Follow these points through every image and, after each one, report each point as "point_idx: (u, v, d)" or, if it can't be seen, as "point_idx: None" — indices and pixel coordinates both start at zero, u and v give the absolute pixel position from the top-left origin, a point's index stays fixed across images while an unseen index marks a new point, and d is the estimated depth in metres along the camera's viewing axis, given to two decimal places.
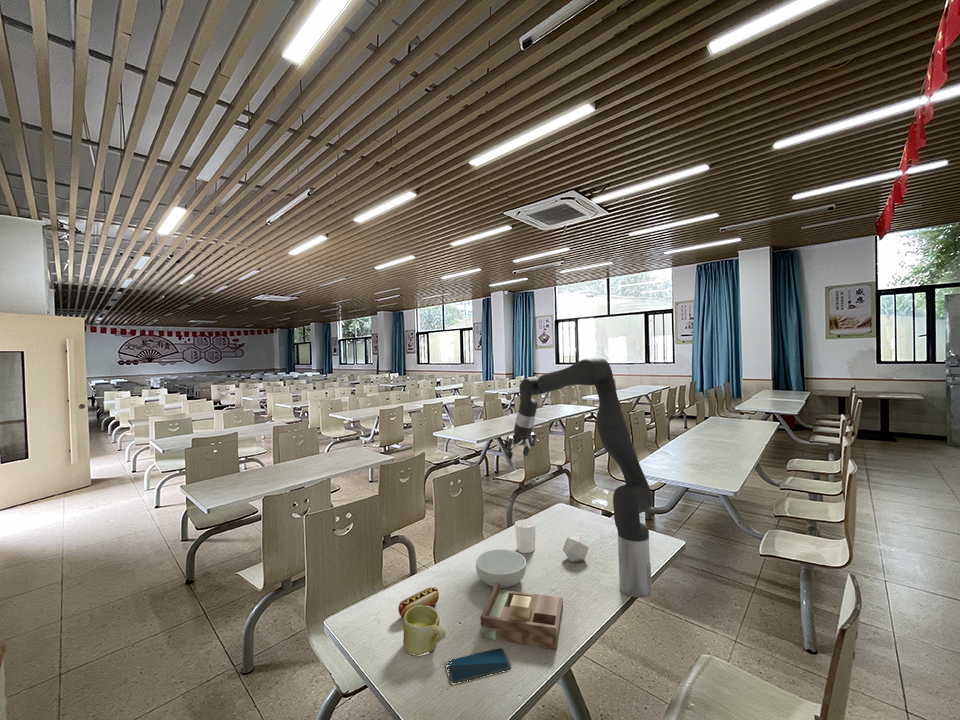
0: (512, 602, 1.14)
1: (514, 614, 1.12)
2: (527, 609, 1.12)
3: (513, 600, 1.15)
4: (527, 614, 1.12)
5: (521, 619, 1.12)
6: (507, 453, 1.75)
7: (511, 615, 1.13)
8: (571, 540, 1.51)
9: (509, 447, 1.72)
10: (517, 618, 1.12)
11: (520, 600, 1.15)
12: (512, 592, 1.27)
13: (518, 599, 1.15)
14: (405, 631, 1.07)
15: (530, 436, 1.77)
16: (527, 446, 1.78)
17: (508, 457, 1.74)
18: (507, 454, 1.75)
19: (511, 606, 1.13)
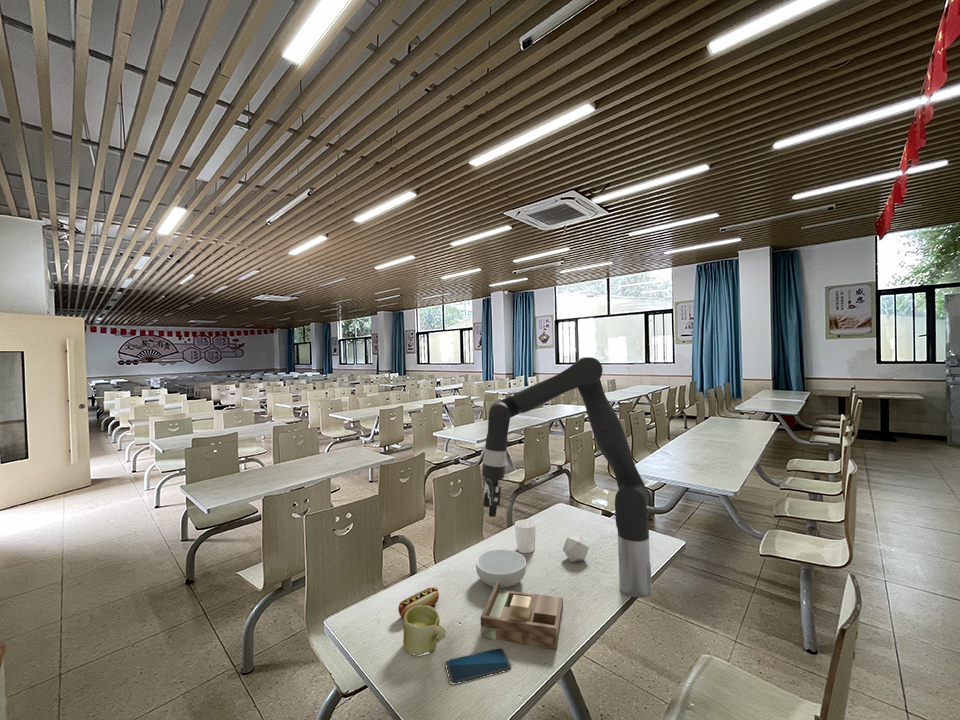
0: (512, 602, 1.14)
1: (514, 614, 1.12)
2: (527, 609, 1.12)
3: (513, 600, 1.15)
4: (527, 614, 1.12)
5: (521, 619, 1.12)
6: (491, 510, 1.33)
7: (511, 615, 1.13)
8: (571, 540, 1.51)
9: None
10: (517, 618, 1.12)
11: (520, 600, 1.15)
12: (512, 592, 1.27)
13: (518, 599, 1.15)
14: (405, 631, 1.07)
15: None
16: None
17: (494, 514, 1.33)
18: (492, 511, 1.33)
19: (511, 606, 1.13)
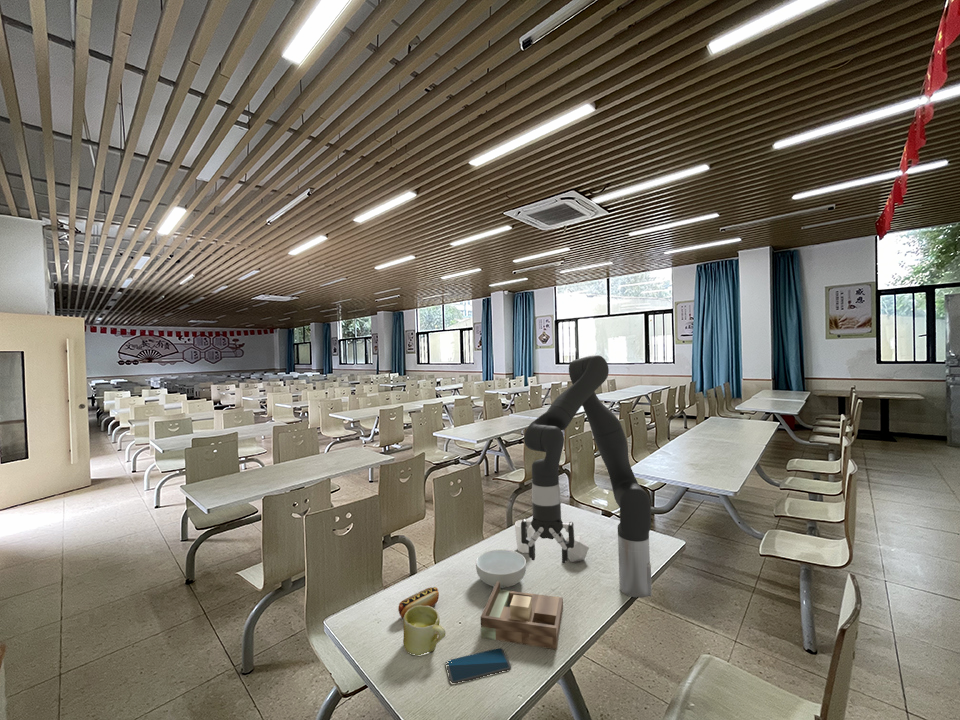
0: (512, 602, 1.14)
1: (514, 614, 1.12)
2: (527, 609, 1.12)
3: (513, 600, 1.15)
4: (527, 614, 1.12)
5: (521, 619, 1.12)
6: (567, 554, 1.10)
7: (511, 615, 1.13)
8: None
9: None
10: (517, 618, 1.12)
11: (520, 600, 1.15)
12: (512, 592, 1.27)
13: (518, 599, 1.15)
14: (405, 631, 1.07)
15: None
16: None
17: None
18: (567, 556, 1.10)
19: (511, 606, 1.13)
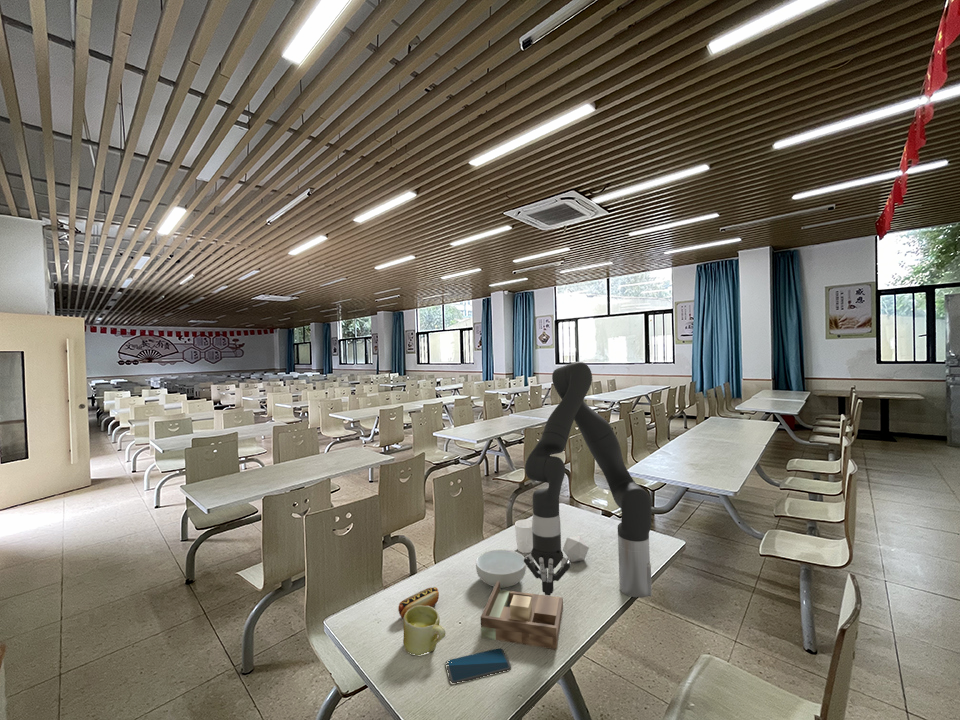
0: (512, 602, 1.14)
1: (514, 614, 1.12)
2: (527, 609, 1.12)
3: (513, 600, 1.15)
4: (527, 614, 1.12)
5: (521, 619, 1.12)
6: (552, 587, 1.12)
7: (511, 615, 1.13)
8: (571, 540, 1.51)
9: None
10: (517, 618, 1.12)
11: (520, 600, 1.15)
12: (512, 592, 1.27)
13: (518, 599, 1.15)
14: (405, 631, 1.07)
15: None
16: (546, 571, 1.14)
17: None
18: (553, 588, 1.12)
19: (511, 606, 1.13)
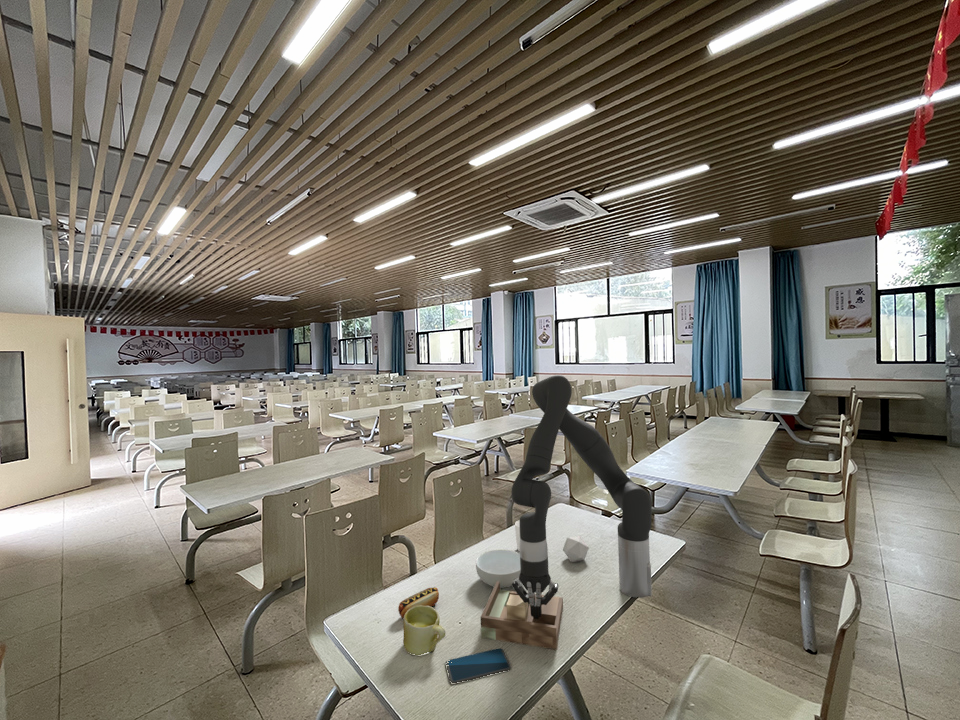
0: (508, 602, 1.14)
1: (511, 613, 1.13)
2: (523, 609, 1.12)
3: (509, 600, 1.15)
4: (523, 614, 1.12)
5: (517, 619, 1.12)
6: (541, 611, 1.12)
7: (507, 615, 1.13)
8: (571, 540, 1.51)
9: None
10: (513, 618, 1.13)
11: (516, 600, 1.15)
12: (512, 592, 1.27)
13: (515, 599, 1.15)
14: (405, 631, 1.07)
15: None
16: (534, 595, 1.14)
17: (541, 613, 1.13)
18: (541, 612, 1.12)
19: (507, 606, 1.13)
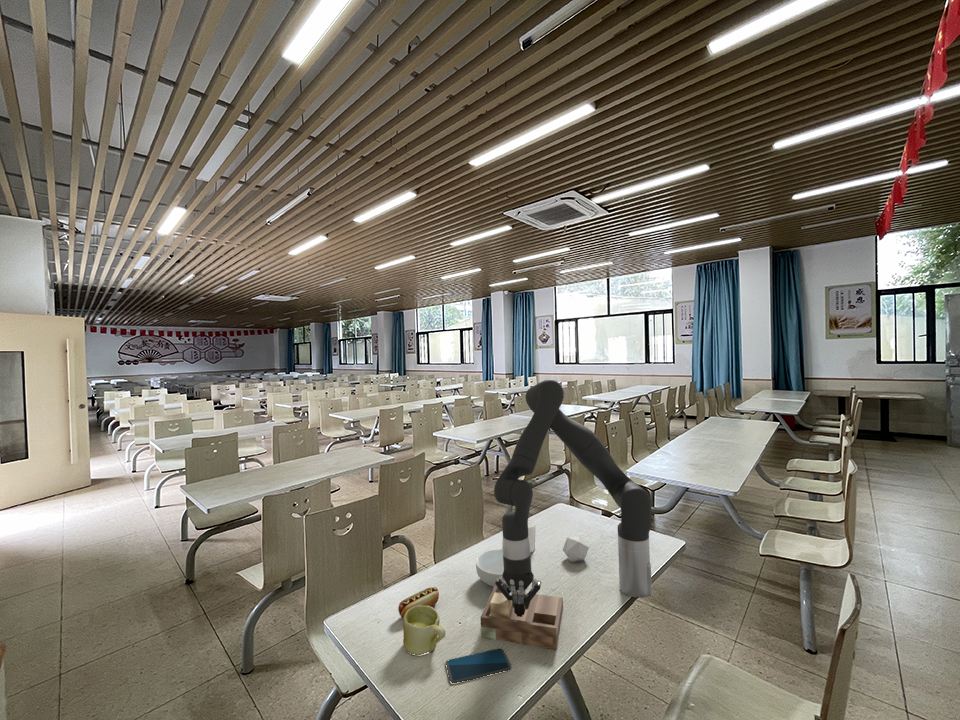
0: (493, 600, 1.15)
1: (495, 611, 1.14)
2: (507, 606, 1.13)
3: (494, 598, 1.16)
4: (507, 611, 1.13)
5: (501, 616, 1.13)
6: (524, 608, 1.13)
7: (491, 612, 1.14)
8: (571, 540, 1.51)
9: None
10: (497, 615, 1.14)
11: (501, 598, 1.16)
12: None
13: (499, 597, 1.17)
14: (405, 631, 1.07)
15: None
16: (518, 592, 1.15)
17: None
18: (524, 609, 1.14)
19: (491, 604, 1.14)
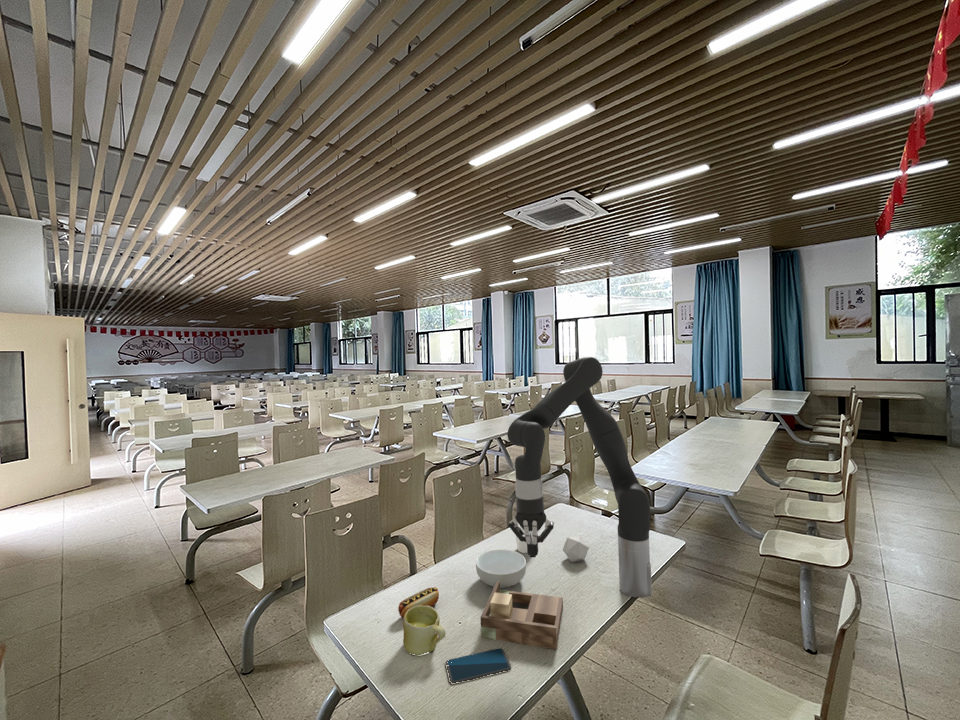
0: (493, 600, 1.15)
1: (495, 611, 1.14)
2: (507, 606, 1.13)
3: (494, 598, 1.16)
4: (507, 611, 1.13)
5: (501, 616, 1.13)
6: (537, 549, 1.15)
7: (491, 612, 1.14)
8: (571, 540, 1.51)
9: None
10: (497, 615, 1.14)
11: (501, 598, 1.16)
12: (512, 592, 1.27)
13: (499, 597, 1.17)
14: (405, 631, 1.07)
15: None
16: None
17: None
18: (537, 550, 1.15)
19: (491, 604, 1.14)
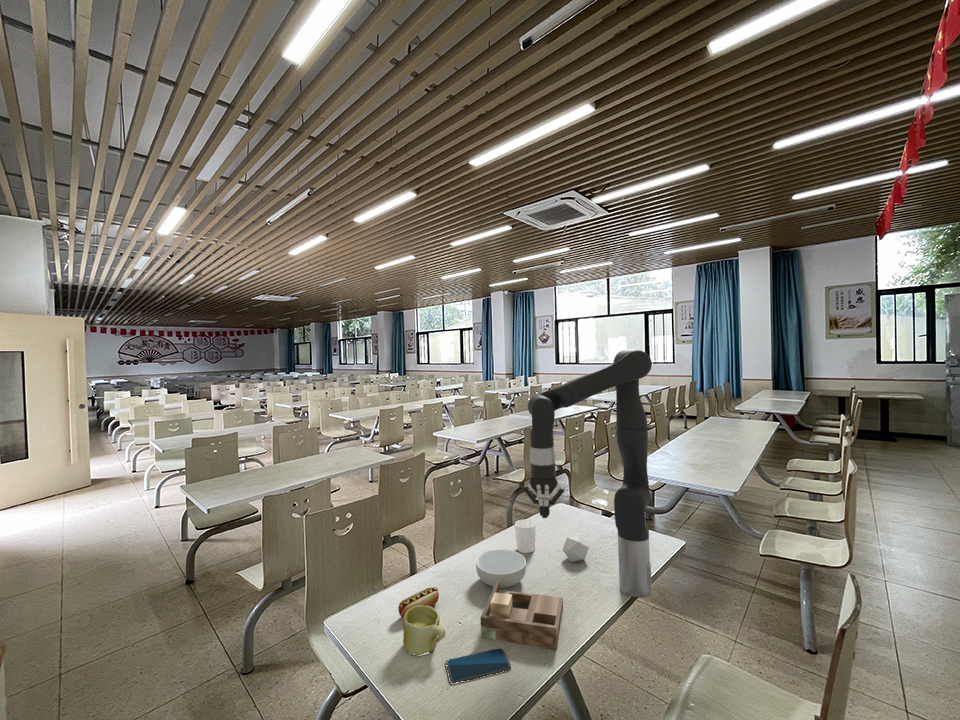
0: (493, 600, 1.15)
1: (495, 611, 1.14)
2: (507, 606, 1.13)
3: (494, 598, 1.16)
4: (507, 611, 1.13)
5: (501, 616, 1.13)
6: (549, 510, 1.28)
7: (491, 612, 1.14)
8: (571, 540, 1.51)
9: None
10: (497, 615, 1.14)
11: (501, 598, 1.16)
12: (512, 592, 1.27)
13: (499, 597, 1.17)
14: (405, 631, 1.07)
15: None
16: (543, 498, 1.30)
17: (549, 513, 1.29)
18: (549, 512, 1.28)
19: (491, 604, 1.14)
